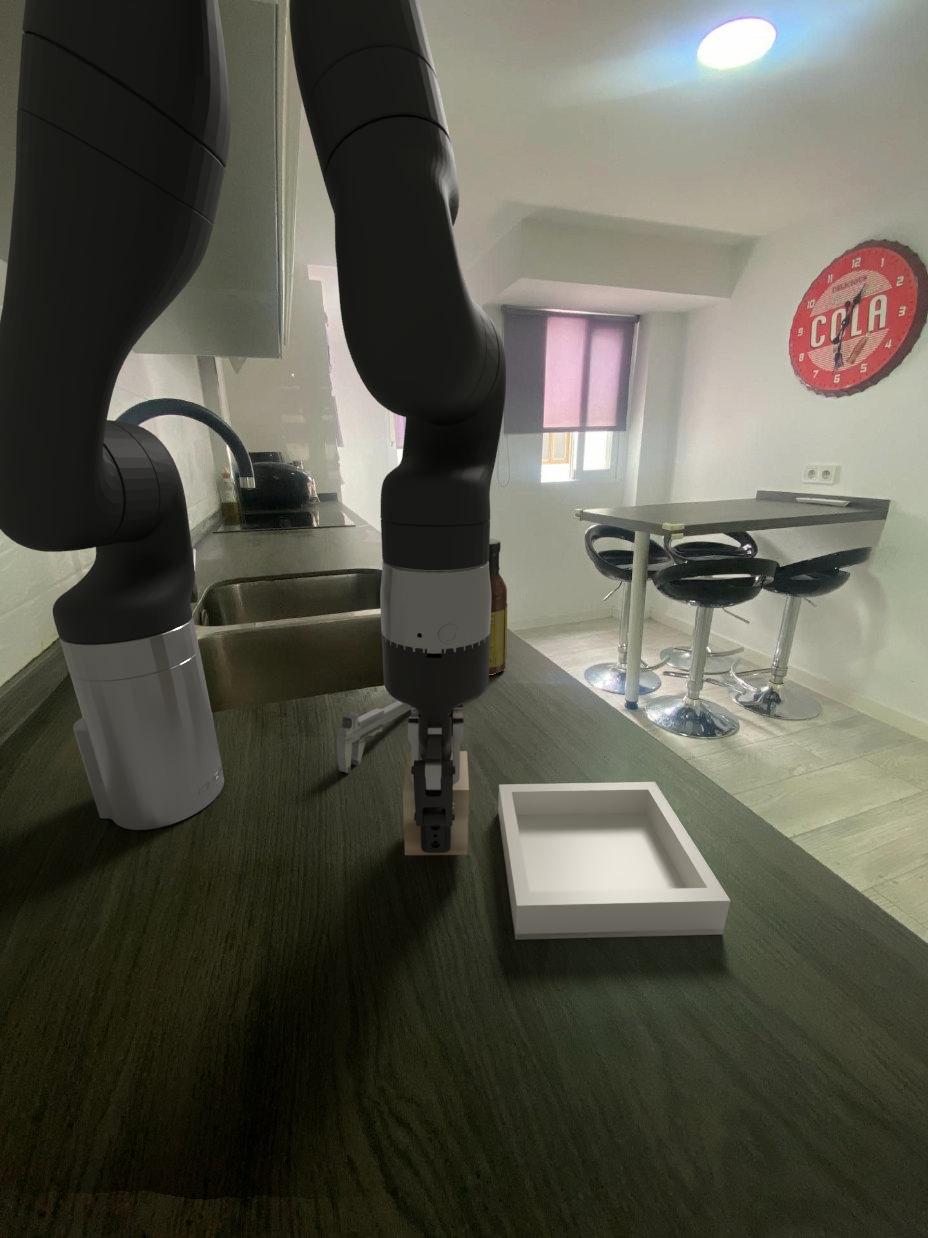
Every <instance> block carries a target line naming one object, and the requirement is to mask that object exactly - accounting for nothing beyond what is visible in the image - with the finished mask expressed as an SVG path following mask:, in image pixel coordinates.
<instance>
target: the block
mask: <svg viewBox="0 0 928 1238" xmlns="http://www.w3.org/2000/svg"><path fill="white" fill-rule="evenodd" d="M420 760H422V758H421V754H420ZM450 760H453V752H451V758H450ZM468 761H469V760H468V750H460V779H459V781H458V782H457V783H456V784H454V785H453V802H454V809H453V811H452V813H455V821H453V820H452V826H451V848H450V850H449V851H448V852H445V853H426V852H424V851H422V849H421V826H416V821H414V814H415V797H414V782H413V781H412V779H411V750H410V751H409V750H408V752H407V760H406V766H405V773H404V779H403V786H402V805H403V806H402V808H403V809H402V810H403V811H402V812H403V837H404V838H403V839H404V841H403V842H404V855H405V856H468V852H469V851H468V850H469V849H468V848H469V844H468V843H469V842H468V841H469V808H470V807H469V804H470V802H469V801H470V786H469V785H470V784H469V783H470V782H469V781H470V780H469V765H468Z"/></svg>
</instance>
